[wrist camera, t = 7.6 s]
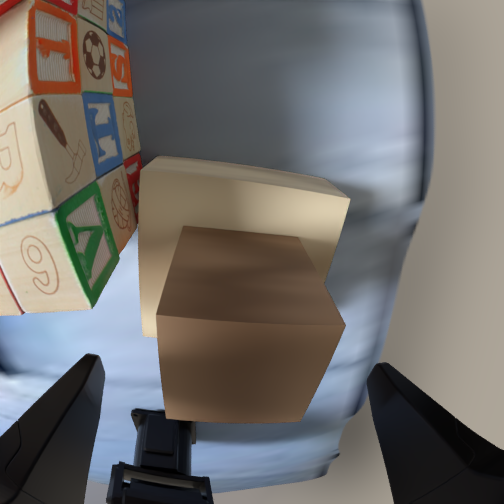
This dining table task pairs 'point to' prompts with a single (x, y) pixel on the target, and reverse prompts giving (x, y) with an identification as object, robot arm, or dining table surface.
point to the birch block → (228, 214)
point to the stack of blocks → (64, 152)
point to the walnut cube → (243, 328)
